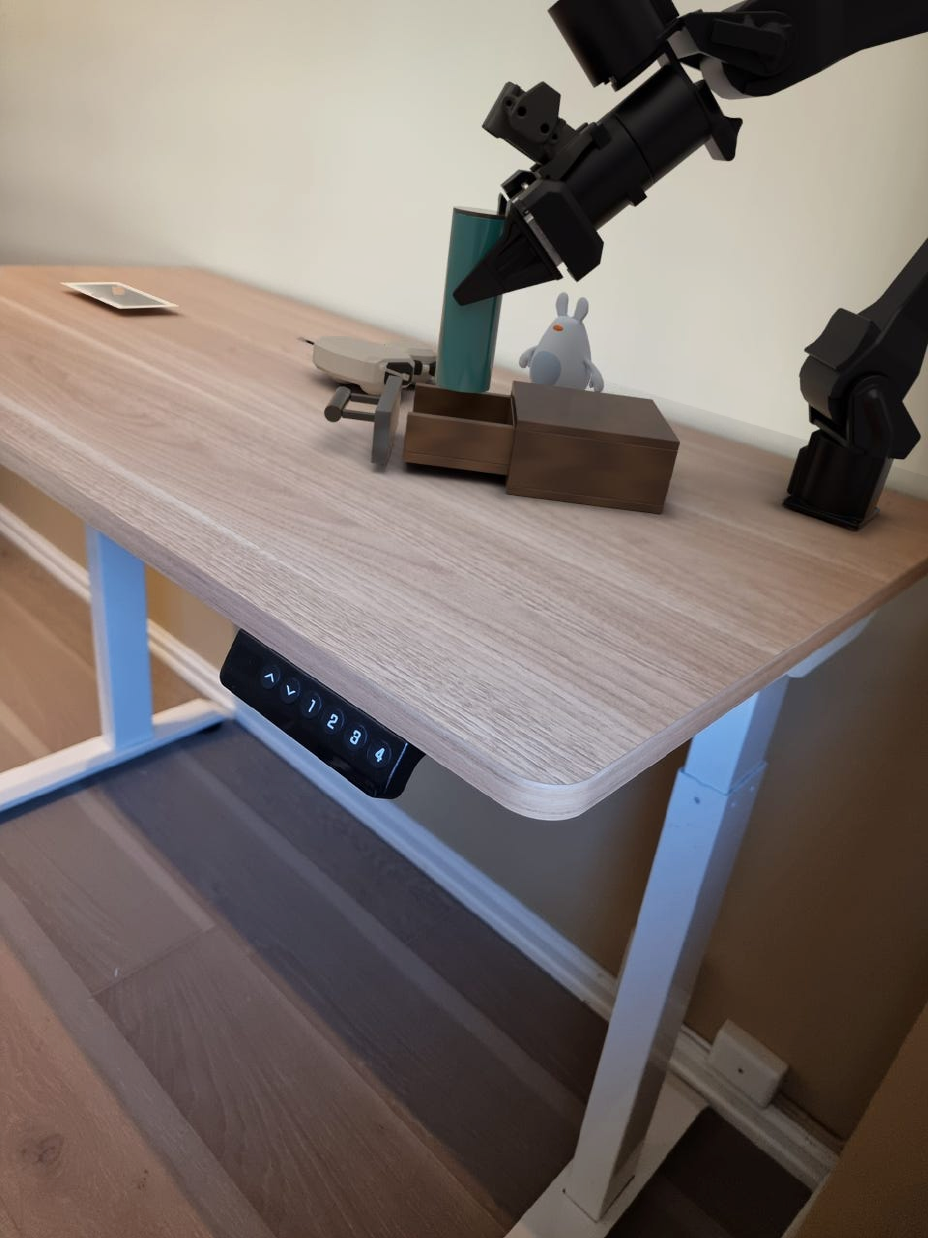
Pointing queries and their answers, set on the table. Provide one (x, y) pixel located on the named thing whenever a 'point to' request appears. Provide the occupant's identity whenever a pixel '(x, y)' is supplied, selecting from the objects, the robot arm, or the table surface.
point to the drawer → (437, 426)
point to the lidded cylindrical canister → (468, 306)
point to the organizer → (590, 448)
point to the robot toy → (373, 361)
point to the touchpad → (119, 295)
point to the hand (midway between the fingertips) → (454, 294)
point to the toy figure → (564, 351)
